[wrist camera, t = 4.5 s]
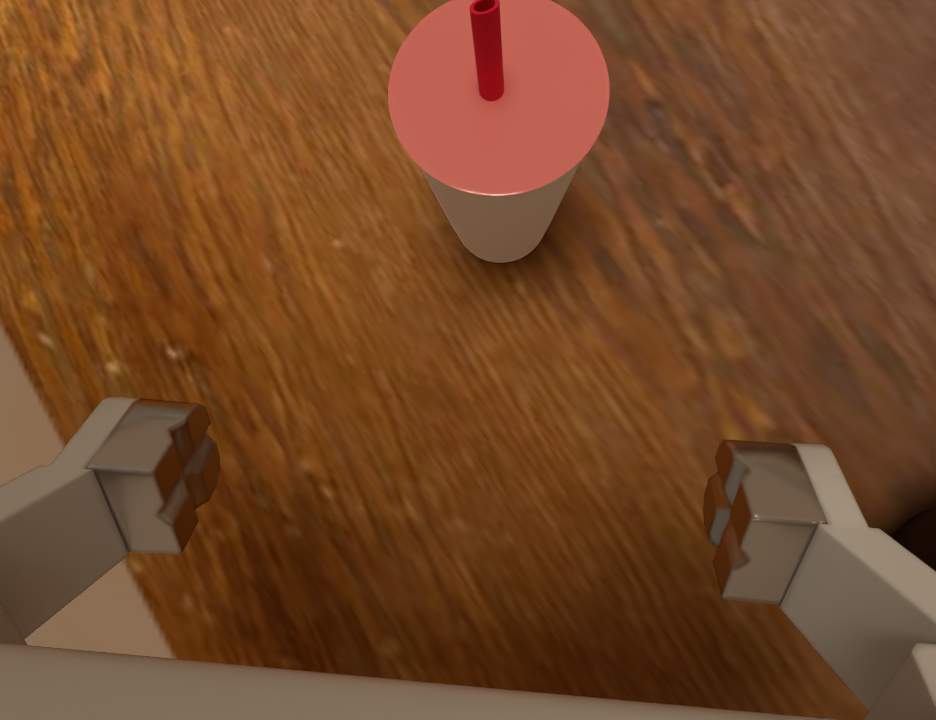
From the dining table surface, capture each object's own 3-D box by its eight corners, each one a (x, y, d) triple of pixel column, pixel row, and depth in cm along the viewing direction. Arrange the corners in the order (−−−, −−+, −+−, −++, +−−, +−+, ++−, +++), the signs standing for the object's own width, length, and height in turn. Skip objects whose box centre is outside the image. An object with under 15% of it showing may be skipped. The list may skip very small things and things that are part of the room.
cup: (415, 167, 26) (339, -80, 14) (555, 135, 26) (596, -139, 14) (444, 303, 25) (390, 161, 14) (589, 271, 25) (663, 99, 13)
